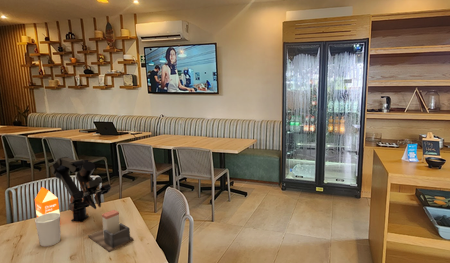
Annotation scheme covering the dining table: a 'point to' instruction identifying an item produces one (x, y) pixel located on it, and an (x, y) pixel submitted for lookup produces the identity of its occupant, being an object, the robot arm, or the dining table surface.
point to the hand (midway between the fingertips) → (98, 207)
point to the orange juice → (46, 203)
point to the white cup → (48, 229)
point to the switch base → (112, 238)
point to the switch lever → (111, 221)
